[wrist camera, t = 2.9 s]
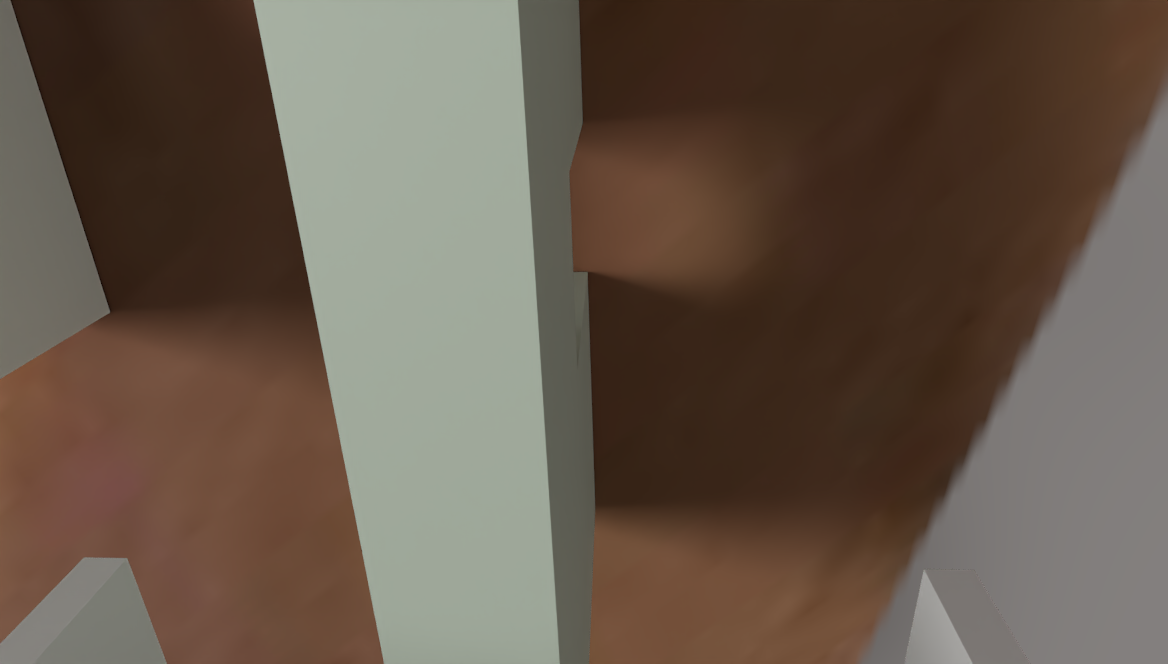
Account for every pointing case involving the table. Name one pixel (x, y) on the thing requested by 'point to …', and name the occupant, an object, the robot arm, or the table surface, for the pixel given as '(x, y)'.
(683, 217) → the table surface
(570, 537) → the green board
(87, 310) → the white board
